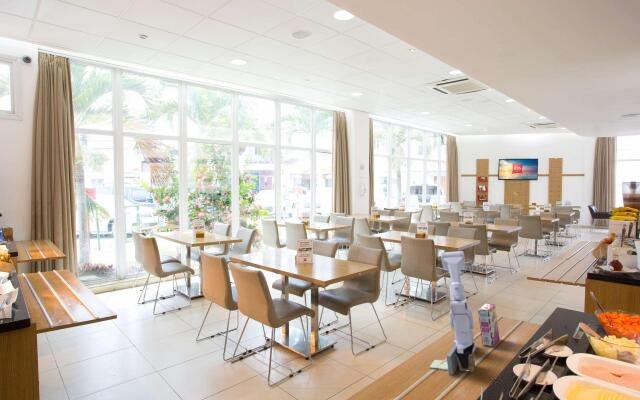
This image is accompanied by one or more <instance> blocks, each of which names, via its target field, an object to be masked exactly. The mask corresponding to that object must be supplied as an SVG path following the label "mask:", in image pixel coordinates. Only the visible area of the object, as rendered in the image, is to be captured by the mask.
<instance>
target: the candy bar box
mask: <svg viewBox="0 0 640 400" xmlns="http://www.w3.org/2000/svg"><path fill="white" fill-rule="evenodd" d="M496 308H497V307H496V304H495V303H494V304H492V303H484V304H482V306H481V307H479V308H478V309H477V310H478V311H477V313H478V319H479V320H478V321H479V326H480V328H479V329H480V336H481V342H482V346H483V347H490V348H492V347H491V346H493V347H494V346H495V345H496V344H497V343H496V342H498V341H499V340H500V330H499V325H498V315H497V309H496ZM495 343H496V344H495Z"/></svg>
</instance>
